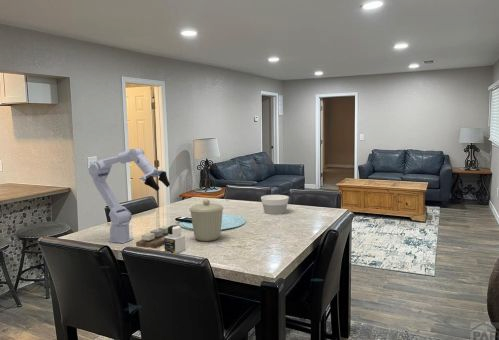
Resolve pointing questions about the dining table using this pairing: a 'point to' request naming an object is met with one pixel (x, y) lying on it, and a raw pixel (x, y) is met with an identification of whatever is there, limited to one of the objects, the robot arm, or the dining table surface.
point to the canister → (206, 220)
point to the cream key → (148, 236)
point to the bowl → (275, 204)
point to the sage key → (164, 229)
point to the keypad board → (153, 241)
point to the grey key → (157, 232)
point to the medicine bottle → (174, 240)
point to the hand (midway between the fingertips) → (163, 187)
